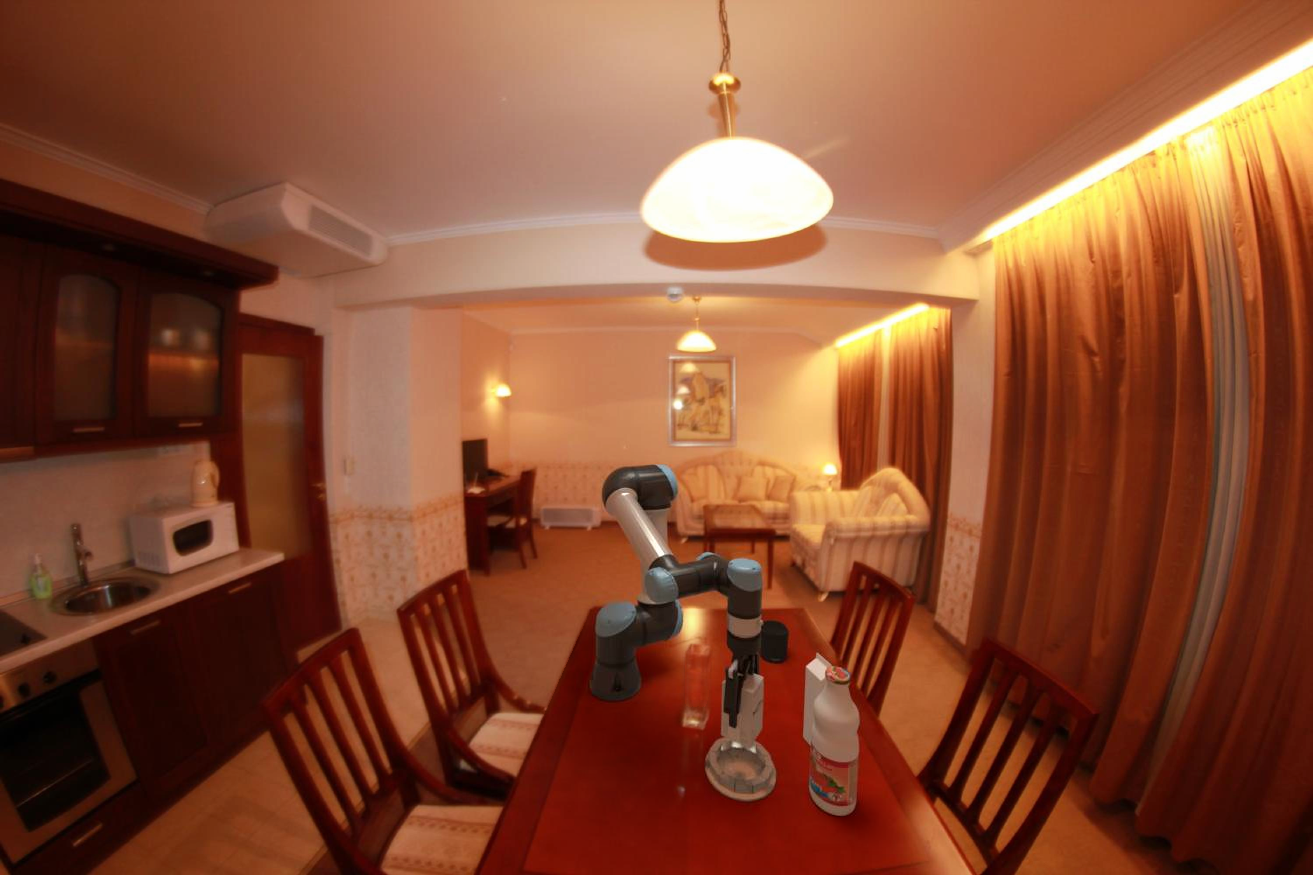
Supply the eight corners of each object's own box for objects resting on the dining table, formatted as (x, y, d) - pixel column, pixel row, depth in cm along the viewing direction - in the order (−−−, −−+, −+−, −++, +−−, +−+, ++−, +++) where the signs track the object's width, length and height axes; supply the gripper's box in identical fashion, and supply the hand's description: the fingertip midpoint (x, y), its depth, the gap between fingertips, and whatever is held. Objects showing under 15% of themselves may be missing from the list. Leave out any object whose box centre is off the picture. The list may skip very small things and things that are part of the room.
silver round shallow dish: (692, 777, 99) (692, 765, 99) (723, 733, 112) (724, 723, 112) (760, 815, 90) (760, 802, 90) (785, 763, 103) (786, 752, 103)
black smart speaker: (753, 656, 147) (754, 627, 146) (766, 645, 154) (767, 617, 153) (780, 668, 141) (781, 637, 140) (792, 655, 148) (793, 626, 147)
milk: (817, 755, 106) (821, 668, 104) (802, 737, 112) (805, 653, 110) (839, 749, 108) (842, 663, 106) (823, 731, 113) (826, 650, 111)
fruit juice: (866, 811, 91) (873, 683, 89) (826, 822, 89) (832, 690, 87) (836, 774, 100) (842, 656, 98) (800, 783, 98) (804, 662, 96)
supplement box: (751, 749, 95) (752, 693, 94) (720, 735, 99) (720, 681, 98) (763, 728, 101) (764, 676, 100) (733, 716, 106) (734, 665, 105)
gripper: (740, 656, 88) (738, 764, 90) (776, 617, 105) (773, 708, 106) (707, 644, 92) (705, 748, 94) (746, 608, 109) (744, 697, 111)
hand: (741, 727), depth 100 cm, fingers closed on supplement box, 7 cm apart
